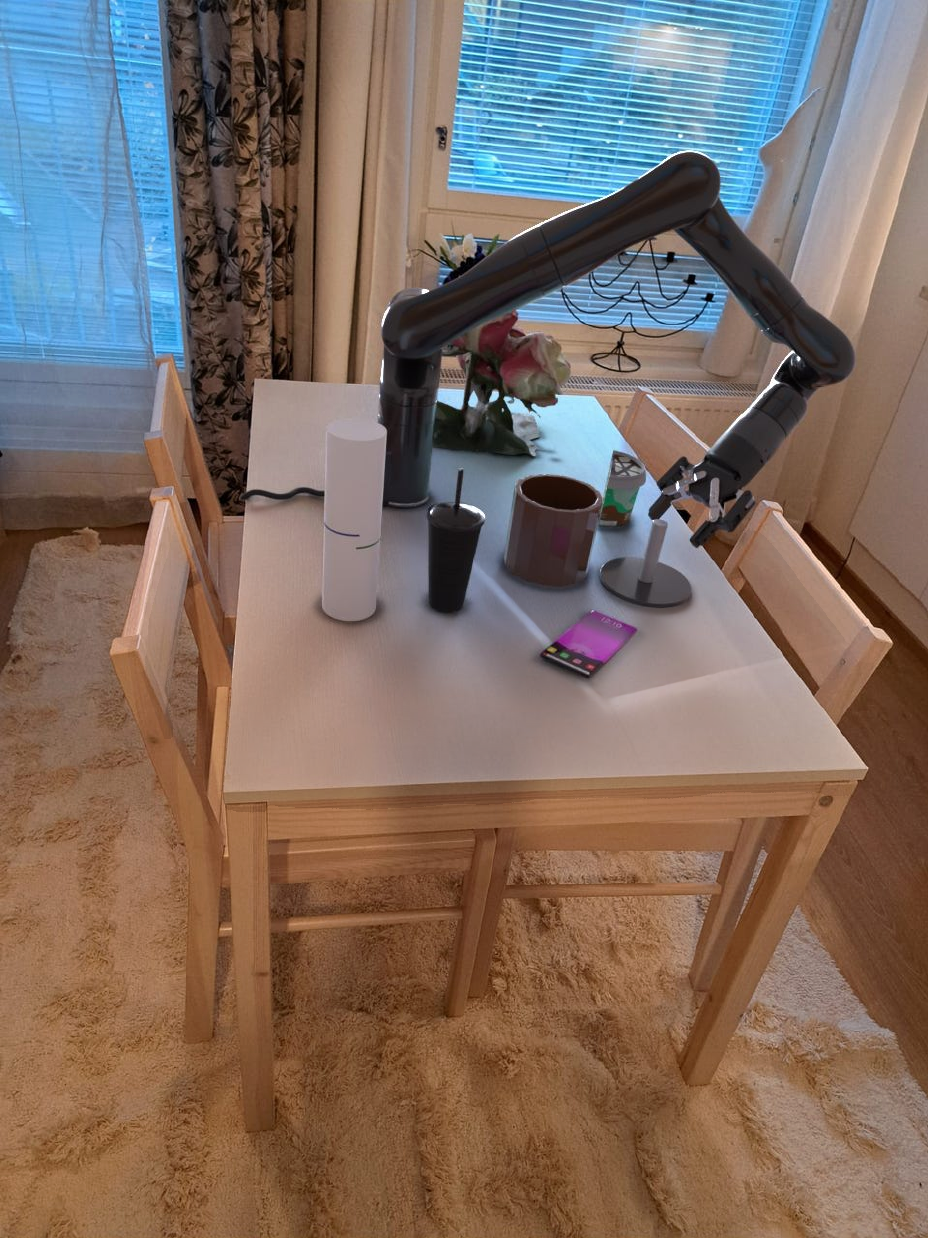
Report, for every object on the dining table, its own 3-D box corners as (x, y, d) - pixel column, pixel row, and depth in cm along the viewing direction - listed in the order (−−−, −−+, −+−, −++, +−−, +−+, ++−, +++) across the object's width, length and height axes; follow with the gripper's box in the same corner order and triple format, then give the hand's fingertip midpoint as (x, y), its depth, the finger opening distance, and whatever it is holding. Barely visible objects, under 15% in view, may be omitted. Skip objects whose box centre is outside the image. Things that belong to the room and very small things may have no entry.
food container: (634, 539, 144) (647, 483, 138) (597, 532, 144) (609, 476, 139) (636, 508, 154) (649, 455, 149) (601, 501, 155) (613, 448, 149)
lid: (633, 617, 123) (650, 550, 117) (581, 570, 133) (594, 506, 127) (708, 603, 129) (727, 538, 123) (653, 558, 139) (669, 497, 133)
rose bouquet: (561, 462, 168) (590, 301, 152) (409, 445, 167) (422, 281, 150) (551, 415, 190) (575, 270, 173) (416, 400, 188) (429, 252, 172)
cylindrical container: (323, 591, 120) (327, 416, 106) (375, 593, 121) (386, 420, 107) (320, 620, 114) (324, 438, 100) (375, 622, 115) (387, 442, 101)
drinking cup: (433, 623, 116) (447, 485, 105) (409, 594, 122) (420, 459, 111) (483, 613, 120) (502, 478, 109) (457, 585, 125) (473, 454, 114)
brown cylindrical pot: (529, 595, 125) (543, 516, 118) (489, 553, 134) (500, 478, 127) (602, 582, 130) (619, 506, 124) (558, 543, 140) (572, 470, 133)
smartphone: (537, 658, 112) (538, 653, 111) (590, 612, 123) (591, 607, 122) (587, 682, 109) (589, 676, 108) (637, 632, 120) (639, 627, 119)
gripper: (701, 415, 130) (629, 497, 130) (778, 451, 120) (699, 540, 120) (716, 444, 135) (646, 523, 135) (790, 481, 126) (715, 566, 126)
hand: (671, 531), depth 128 cm, fingers open, 8 cm apart
